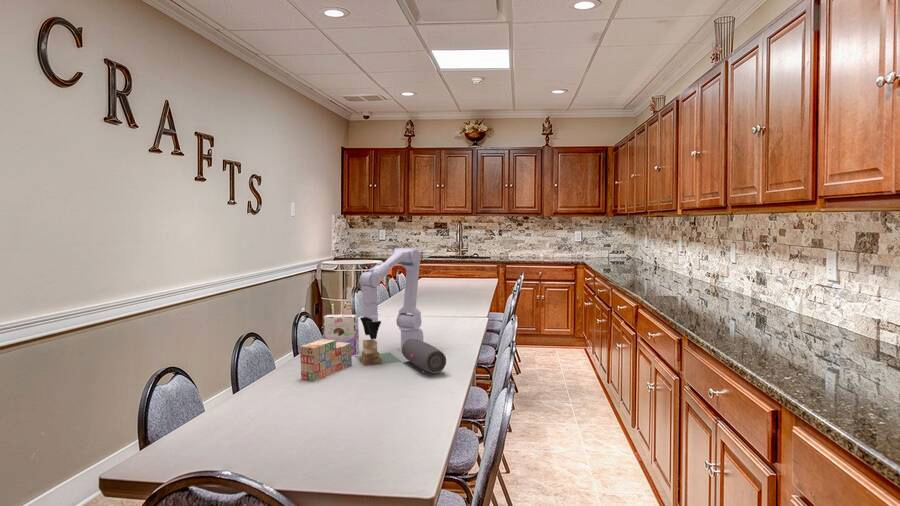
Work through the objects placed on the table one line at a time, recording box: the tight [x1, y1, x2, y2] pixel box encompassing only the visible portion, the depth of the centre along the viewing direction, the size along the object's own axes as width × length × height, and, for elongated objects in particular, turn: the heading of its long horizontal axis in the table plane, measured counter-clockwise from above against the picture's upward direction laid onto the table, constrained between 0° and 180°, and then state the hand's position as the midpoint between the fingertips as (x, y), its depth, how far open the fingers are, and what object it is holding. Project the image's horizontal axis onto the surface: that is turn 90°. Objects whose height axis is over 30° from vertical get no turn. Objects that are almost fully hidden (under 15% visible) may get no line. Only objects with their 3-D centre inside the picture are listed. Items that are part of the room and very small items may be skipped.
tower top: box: [361, 350, 379, 360], centre depth 215 cm, size 6×6×2 cm
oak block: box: [362, 339, 378, 354], centre depth 215 cm, size 4×4×4 cm
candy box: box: [322, 314, 360, 356], centre depth 231 cm, size 14×6×16 cm, turn 84°
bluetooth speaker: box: [401, 339, 447, 374], centre depth 207 cm, size 23×9×10 cm, turn 27°
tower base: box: [359, 355, 382, 366], centre depth 216 cm, size 7×7×2 cm
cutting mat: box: [354, 352, 402, 367], centre depth 221 cm, size 15×16×1 cm
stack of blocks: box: [299, 338, 353, 382], centre depth 203 cm, size 21×6×12 cm, turn 153°
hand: (370, 336), depth 216 cm, fingers open, 7 cm apart
